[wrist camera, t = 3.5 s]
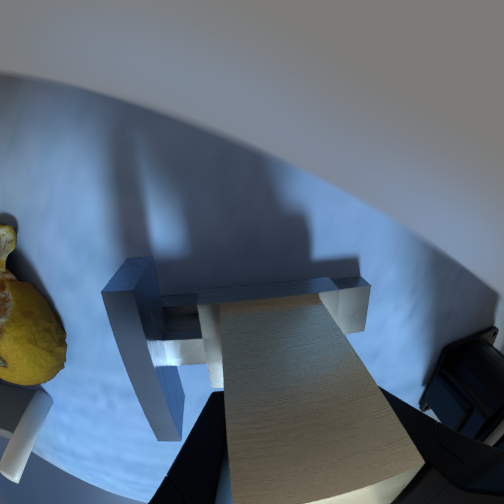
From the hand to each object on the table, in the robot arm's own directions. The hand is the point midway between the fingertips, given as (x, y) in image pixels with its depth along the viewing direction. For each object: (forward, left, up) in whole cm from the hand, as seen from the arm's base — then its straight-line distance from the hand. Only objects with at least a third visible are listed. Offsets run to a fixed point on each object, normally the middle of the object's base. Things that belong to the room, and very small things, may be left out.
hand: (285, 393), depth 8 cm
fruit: (+13, -2, -6) cm, 15 cm away
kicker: (+1, 0, -4) cm, 4 cm away
